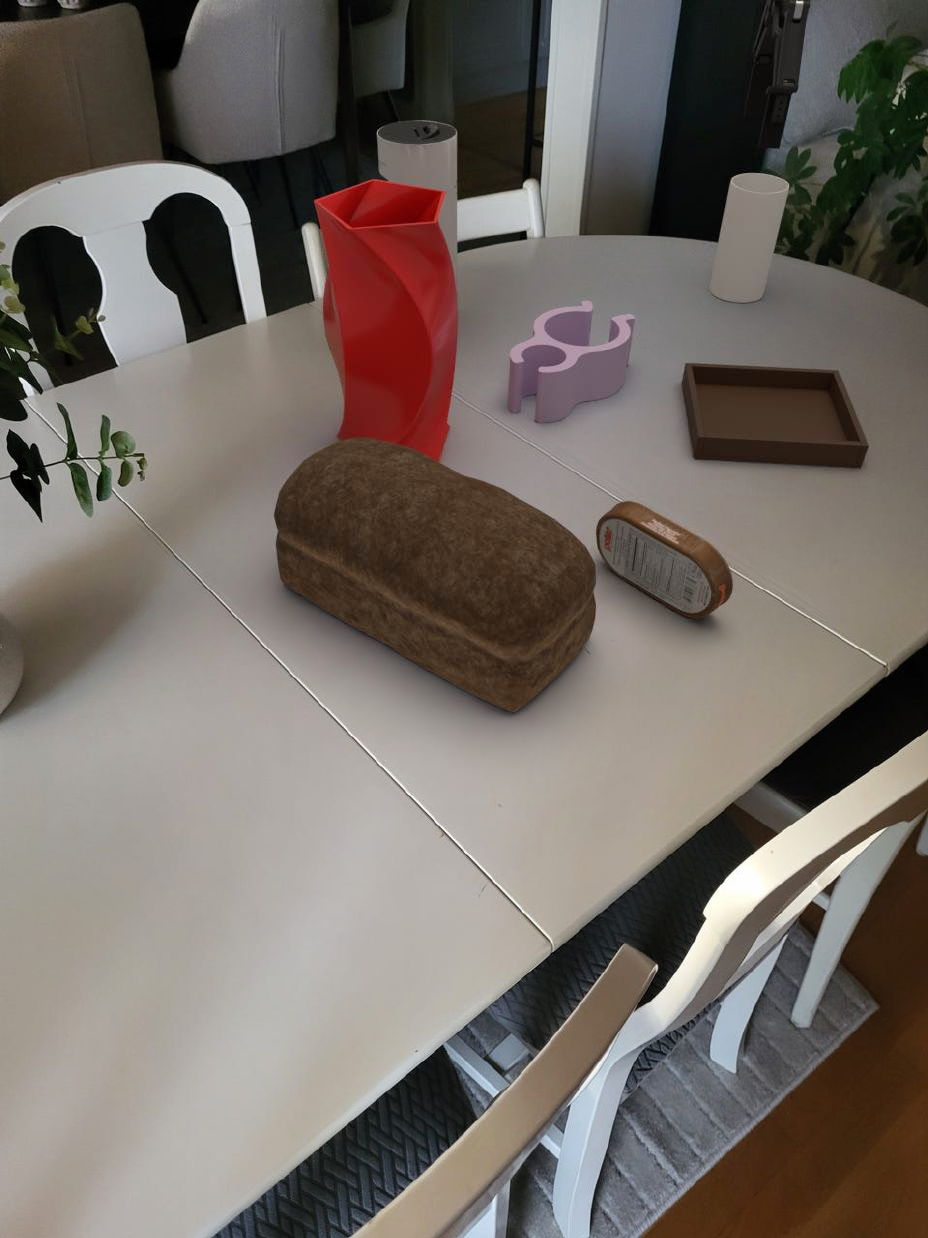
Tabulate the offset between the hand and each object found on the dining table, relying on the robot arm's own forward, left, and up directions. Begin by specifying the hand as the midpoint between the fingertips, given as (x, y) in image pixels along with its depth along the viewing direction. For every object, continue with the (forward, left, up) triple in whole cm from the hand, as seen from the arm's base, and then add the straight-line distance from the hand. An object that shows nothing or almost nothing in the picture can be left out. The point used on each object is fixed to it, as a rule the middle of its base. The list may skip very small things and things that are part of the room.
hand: (760, 131), depth 129 cm
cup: (-2, -1, -23) cm, 23 cm away
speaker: (+45, +14, -23) cm, 53 cm away
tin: (+15, +70, -23) cm, 75 cm away
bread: (+37, +75, -23) cm, 87 cm away
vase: (+45, +46, -23) cm, 69 cm away
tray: (-1, +37, -23) cm, 44 cm away
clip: (+24, +30, -23) cm, 45 cm away
